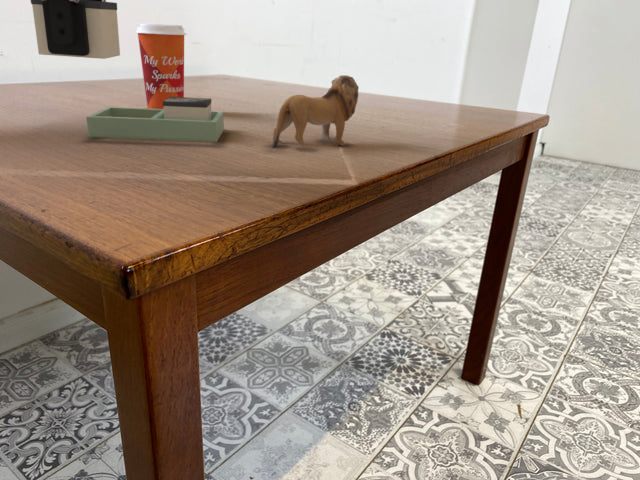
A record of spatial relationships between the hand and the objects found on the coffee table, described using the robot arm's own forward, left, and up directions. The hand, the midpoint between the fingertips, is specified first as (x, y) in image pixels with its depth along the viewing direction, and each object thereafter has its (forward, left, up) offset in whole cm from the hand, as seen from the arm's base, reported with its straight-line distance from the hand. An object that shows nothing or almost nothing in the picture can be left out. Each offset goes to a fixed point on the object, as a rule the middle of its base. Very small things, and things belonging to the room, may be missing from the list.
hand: (80, 50), depth 46 cm
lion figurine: (+22, +20, -12) cm, 33 cm away
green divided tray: (+1, +21, -12) cm, 25 cm away
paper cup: (-2, +39, -12) cm, 41 cm away
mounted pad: (+5, +21, -11) cm, 25 cm away
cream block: (0, 0, 0) cm, 0 cm away
